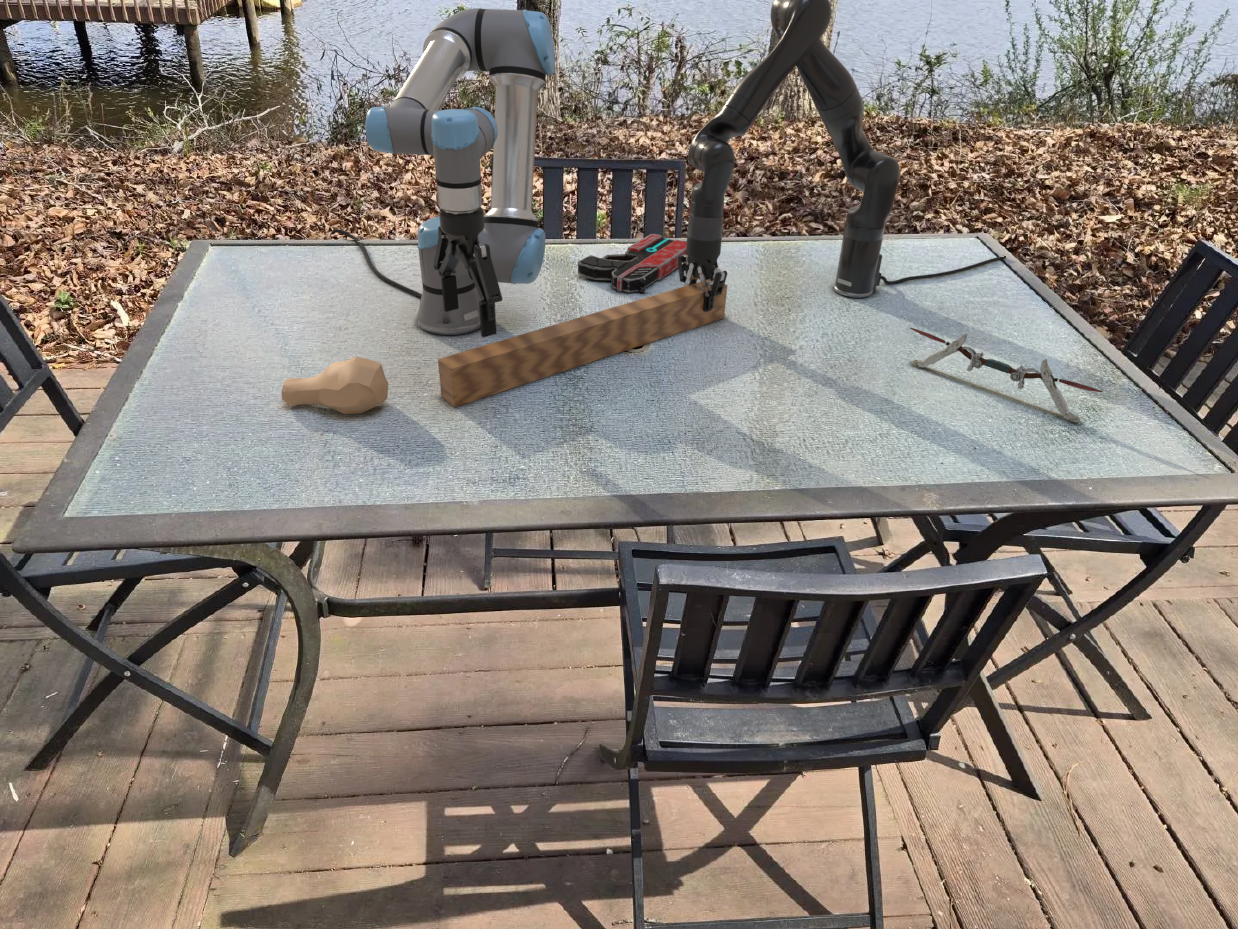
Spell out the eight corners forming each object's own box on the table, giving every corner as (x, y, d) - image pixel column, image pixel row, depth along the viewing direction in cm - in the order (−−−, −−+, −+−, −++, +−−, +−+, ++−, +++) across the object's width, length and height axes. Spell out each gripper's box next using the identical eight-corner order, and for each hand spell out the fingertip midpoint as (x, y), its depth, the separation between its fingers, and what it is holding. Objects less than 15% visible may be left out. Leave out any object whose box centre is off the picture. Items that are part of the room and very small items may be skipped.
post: (454, 407, 165) (450, 369, 161) (441, 397, 169) (437, 359, 164) (724, 318, 202) (727, 284, 198) (709, 310, 206) (712, 277, 201)
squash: (388, 420, 161) (373, 382, 155) (283, 428, 163) (264, 391, 156) (399, 383, 169) (385, 345, 163) (299, 392, 170) (282, 354, 164)
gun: (571, 262, 216) (639, 281, 209) (634, 226, 238) (698, 242, 231) (571, 279, 219) (638, 298, 211) (633, 242, 241) (696, 258, 233)
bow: (1091, 425, 165) (1109, 378, 160) (1088, 428, 164) (1106, 381, 159) (904, 358, 187) (914, 315, 181) (900, 361, 186) (910, 317, 180)
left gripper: (519, 223, 144) (523, 340, 156) (444, 186, 160) (454, 295, 172) (479, 231, 140) (487, 351, 152) (407, 192, 156) (419, 304, 168)
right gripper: (740, 239, 187) (732, 313, 196) (695, 221, 196) (689, 292, 206) (714, 246, 183) (708, 321, 192) (669, 227, 192) (665, 300, 202)
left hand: (469, 322), depth 162 cm, fingers open, 13 cm apart
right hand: (698, 306), depth 199 cm, fingers closed on post, 5 cm apart
